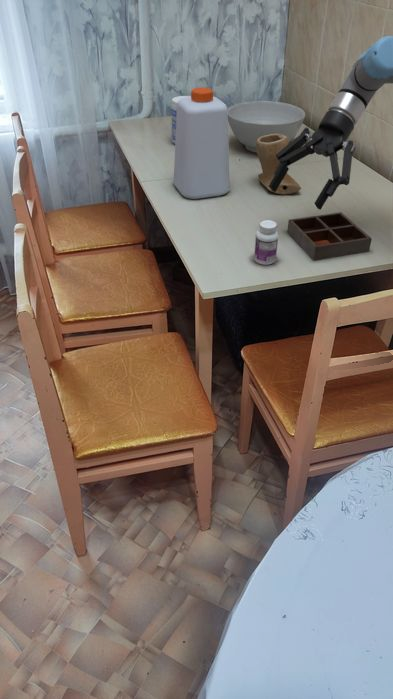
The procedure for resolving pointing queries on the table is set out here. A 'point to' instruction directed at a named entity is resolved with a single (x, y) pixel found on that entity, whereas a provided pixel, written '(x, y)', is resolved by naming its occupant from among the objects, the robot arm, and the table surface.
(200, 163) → the plastic bottle
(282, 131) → the decorative bowl
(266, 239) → the pill bottle
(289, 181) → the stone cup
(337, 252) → the grid
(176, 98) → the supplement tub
